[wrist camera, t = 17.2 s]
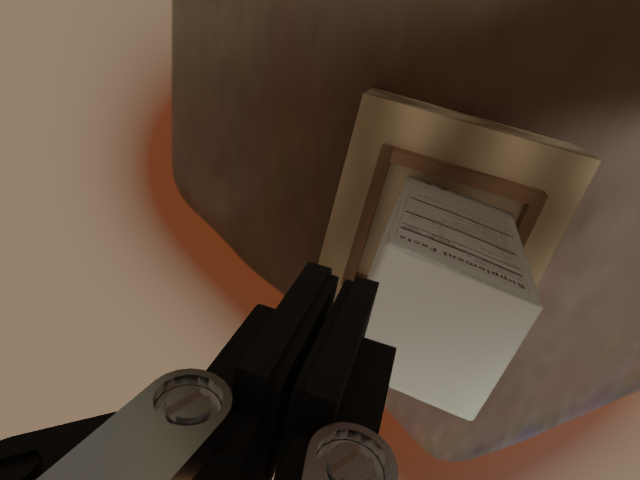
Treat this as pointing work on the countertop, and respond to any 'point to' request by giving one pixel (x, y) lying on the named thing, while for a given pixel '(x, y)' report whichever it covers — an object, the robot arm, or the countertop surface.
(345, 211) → the maple plinth
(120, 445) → the robot arm
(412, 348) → the supplement box
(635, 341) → the countertop surface
